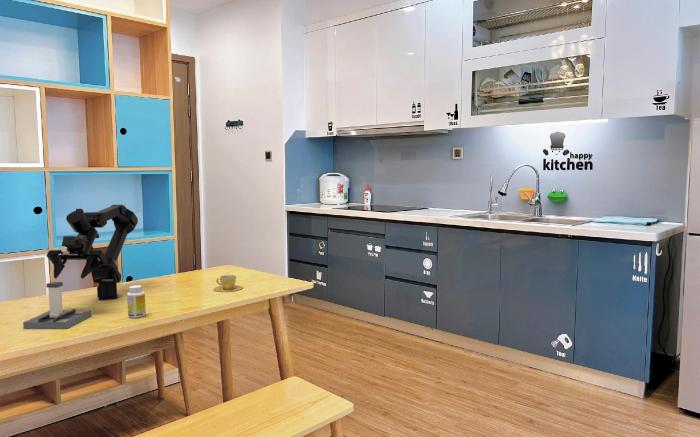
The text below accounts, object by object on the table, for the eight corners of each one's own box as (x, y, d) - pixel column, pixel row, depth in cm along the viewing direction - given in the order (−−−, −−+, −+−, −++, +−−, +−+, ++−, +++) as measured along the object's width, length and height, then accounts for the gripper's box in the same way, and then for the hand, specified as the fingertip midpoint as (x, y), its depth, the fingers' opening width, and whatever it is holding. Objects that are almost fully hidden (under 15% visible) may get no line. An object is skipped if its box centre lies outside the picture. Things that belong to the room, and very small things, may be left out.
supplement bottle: (147, 313, 176) (146, 284, 175) (143, 318, 171) (141, 288, 170) (131, 314, 176) (129, 284, 175) (125, 318, 170) (124, 288, 169)
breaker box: (51, 315, 174) (50, 307, 174) (91, 316, 173) (91, 307, 173) (23, 328, 160) (22, 319, 160) (67, 328, 159) (66, 319, 159)
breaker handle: (54, 314, 167) (51, 281, 166) (64, 314, 167) (62, 281, 166) (48, 317, 164) (46, 284, 163) (59, 317, 164) (57, 284, 163)
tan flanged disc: (246, 286, 218) (246, 273, 217) (237, 293, 206) (237, 279, 205) (219, 285, 219) (218, 273, 218) (208, 292, 207) (208, 279, 207)
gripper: (47, 226, 176) (28, 264, 166) (101, 226, 175) (85, 264, 165) (62, 246, 185) (45, 282, 175) (113, 246, 184) (99, 282, 174)
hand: (68, 277), depth 172 cm, fingers open, 9 cm apart
